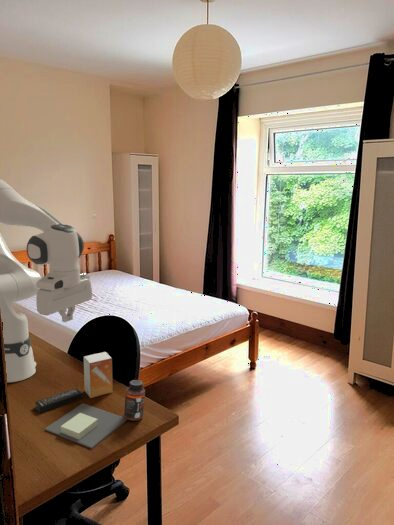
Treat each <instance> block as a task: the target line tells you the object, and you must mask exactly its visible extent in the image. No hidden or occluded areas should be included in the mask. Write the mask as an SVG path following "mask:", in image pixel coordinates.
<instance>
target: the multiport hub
mask: <svg viewBox="0 0 394 525" xmlns="http://www.w3.org/2000/svg"><path fill="white" fill-rule="evenodd" d="M82 399H83V392H82V391H81V390H79V389H78V388H73V389H70V390H67V391H65V392H61V393H58V394H55V395H52V396H49V397H47V398H43V399H41V400H38V401H35V403H34V405H35V406H34V408H35V410H36V411H38V413H39V414H42V413H45V412H48V411H51V410H53V409H56V408H59V407H62V406H64V405H68V404H70V403H73V402H76V401H79V400H82Z"/></svg>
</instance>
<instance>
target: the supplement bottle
mask: <svg viewBox="0 0 394 525" xmlns="http://www.w3.org/2000/svg"><path fill="white" fill-rule="evenodd" d="M143 386H144V383H143V381H142V380H138V379H132V380H131V381H129V386H128V387H127V388H126V390H125V398H124V399H125V400H124V410H123V411H124V412H123V417H125V418H126V419H127V421H132V422H133V421H140V420H141V419H143V417H144V410H145V400H146V399H145V397H146V389H145V388H144V387H143Z"/></svg>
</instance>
